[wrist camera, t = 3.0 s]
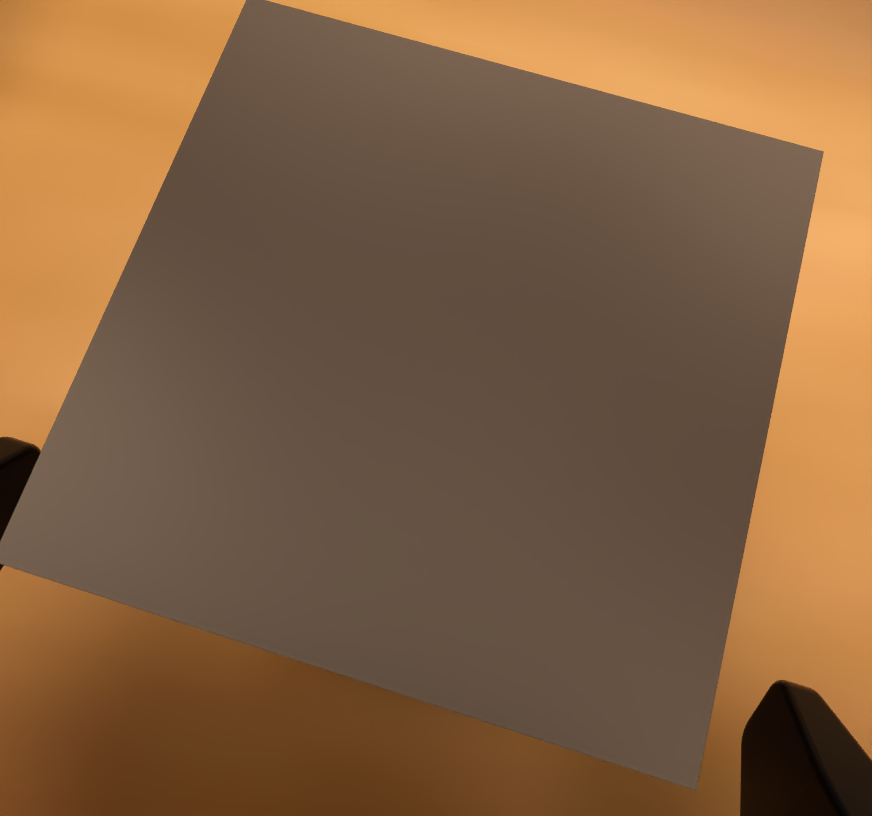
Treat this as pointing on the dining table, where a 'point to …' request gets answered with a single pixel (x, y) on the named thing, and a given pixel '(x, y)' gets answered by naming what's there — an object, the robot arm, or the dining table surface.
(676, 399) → the walnut block
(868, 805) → the robot arm
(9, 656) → the dining table surface
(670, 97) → the dining table surface
